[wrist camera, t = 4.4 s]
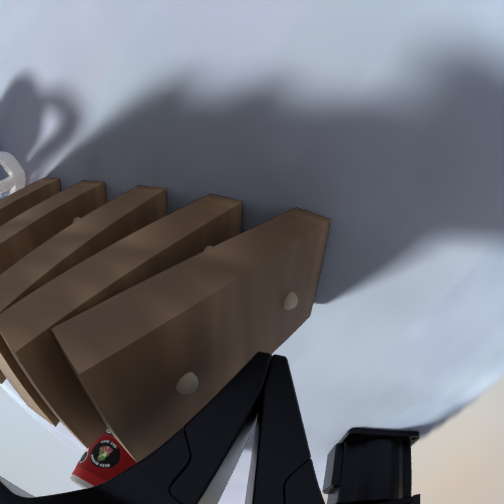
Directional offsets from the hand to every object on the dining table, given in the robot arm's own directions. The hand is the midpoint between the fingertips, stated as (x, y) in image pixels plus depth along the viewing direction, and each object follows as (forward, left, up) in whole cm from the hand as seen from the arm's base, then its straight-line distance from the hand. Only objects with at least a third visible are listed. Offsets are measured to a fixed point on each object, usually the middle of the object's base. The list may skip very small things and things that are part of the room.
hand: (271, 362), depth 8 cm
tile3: (+7, 0, -6) cm, 9 cm away
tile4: (+11, 0, -6) cm, 12 cm away
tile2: (+3, 0, -6) cm, 7 cm away
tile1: (0, 0, -6) cm, 6 cm away
